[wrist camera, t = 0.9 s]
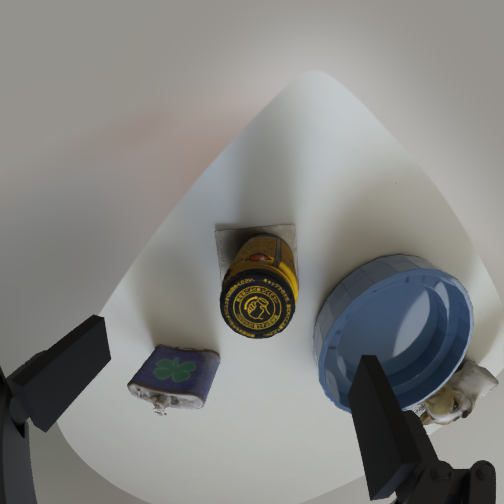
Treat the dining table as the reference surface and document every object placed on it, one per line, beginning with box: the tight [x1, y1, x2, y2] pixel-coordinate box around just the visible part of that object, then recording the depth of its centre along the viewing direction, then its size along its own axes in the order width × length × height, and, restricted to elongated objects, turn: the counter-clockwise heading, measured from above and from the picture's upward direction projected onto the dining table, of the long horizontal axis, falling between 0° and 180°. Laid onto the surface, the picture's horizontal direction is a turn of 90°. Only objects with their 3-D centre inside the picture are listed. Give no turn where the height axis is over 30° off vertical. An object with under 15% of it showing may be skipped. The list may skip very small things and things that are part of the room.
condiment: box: [215, 224, 299, 339], centre depth 24 cm, size 7×8×12 cm
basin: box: [313, 255, 474, 413], centre depth 28 cm, size 19×19×6 cm
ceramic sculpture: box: [417, 360, 499, 425], centre depth 28 cm, size 11×9×15 cm
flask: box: [127, 345, 220, 416], centre depth 29 cm, size 9×3×11 cm, turn 90°
